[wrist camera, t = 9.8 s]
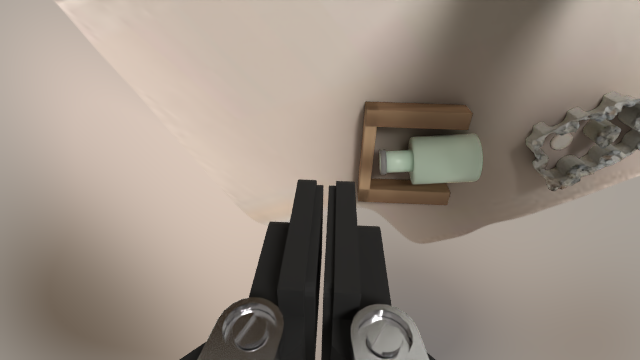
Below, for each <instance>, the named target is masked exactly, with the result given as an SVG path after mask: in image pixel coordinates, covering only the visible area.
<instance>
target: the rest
mask: <svg viewBox="0 0 640 360" xmlns="http://www.w3.org/2000/svg"><path fill="white" fill-rule="evenodd" d="M472 115H473V113H472V112H471V111H470V110H469V109H468V107H467V106H466V105H454V104H423V103H392V102H365V112H364V123H363V134H362V145H361V156H360V167H359V177H358V188H357V192H358V201H363V202H386V203H409V204H433V205H447V204H448V200H449V197H450V191H449V188H448V186H447V184H446V183H434V184H412V182H411V180H397V179H372V178H371V173H372V164H373V156H374V147H375V139H376V130H377V127H395V128H424V129H453V130H468V129H469V125H470V122H471V118H472Z"/></svg>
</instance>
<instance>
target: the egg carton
mask: <svg viewBox="0 0 640 360" xmlns="http://www.w3.org/2000/svg"><path fill="white" fill-rule="evenodd" d="M622 106H625V107H624V108H623V109H622ZM621 109H622V110H621ZM618 112H619V115H618V119H619V121H621V122H623V123H624V124H626V125H628V126H629V127H631V128H633V129H632V130H630V131H629V132H627V133H626V134H625V135H624V136H623V138H622V141H621V142H620V143H618V144H616V145H611V143H613V142H614V141H615V140H616V139H617V137H618V136H619V133H620V132H621V129H620V128H619V127H618V126H616V125H614V124H612V123H611V122H609V121H608V120H612V119H614V118H615V116H616V115H617V113H618ZM588 116H590V117H592V118H588ZM587 119H591V120H590V121H589V122H588V123H587V124H586V125H585V126H584V128H583V132H584V134H585V135H586V136H587V137H588V138H590V139H591V140H592V141H594V142H595V143H596V144H595V145H594V146H592V147H591V148H590V150H589V152H588V154H587V155H585V156H583V157H581V158H577V157H576V156H574V155H567V156H564V157H562V158H561V159H560V160H559V161H558V162H557V164H556V167H555V168H553V169H550V170H546V169H545V167H546V166H547V163H548V159H549V158H548V156H547V155H546V154H545V153H544V152H543V151H542V150H541V149H540V147H542V146H543V142H544V140H545V138H546V137H547V136H548V135H549V134H551V133H556V134H557V135H555V136H554V137H553V138H552V140H551V141H550V146H551V148H553V149H554V150H561V149H564V148H566V147H567V146H568V145H569V144H570V143H571V142H572V139H573V137H572V135H571V134H570V132H575V133H576V132H577V130H578V128H579V127H580V125H579V121H580V120H587ZM526 145H527V146H528V147H529V148H530V149H531V150H532V151H533V153H534V155H535V157H536V159H535V160H534V161H532V164H533V167H534V168H535V169H536V171H537V172H538V173H539V174H540V175H541V176H542V177H545V179H546V184H547V186H548V188H549V190H551V191H556V190H557V189H564V188H566V187H567V186H571V185H573V184H575V183H577V182H579V181H580V177H583V176H586V175H591V174H594V172H595V171H597V170H599V169H602V168H604V167H607V166H611V165H614V164H615V163H617V162H619V161H621V160H622V159H624V158H625V157H626V156H629V155H631V154H633V153H634V151H635V150H636V149H638V150H640V99H635V98H632V97H631V96H629V95H628V96H623V95H621V94H619V93H618V92H615V91H612V92H610V93H608V94H605V95H604V96H603V100H602V102H601V104H600V105H599V106H598V107H597V108H595V109H594V110H591V111H588V112H585V111H583V110H582V109H580V108H579V107H575V108H573V109H570V110H568V111H567V115H566V117H565V119H564V120H563V122H561V123H560V124H558V125H556V126H547V125H546V124H545V123H544V122H540V123H538V124H536V125H534V126H533V132H532V134H531V135H530V136H529V137H527V138H526Z"/></svg>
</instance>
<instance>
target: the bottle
mask: <svg viewBox="0 0 640 360" xmlns="http://www.w3.org/2000/svg"><path fill="white" fill-rule="evenodd" d="M482 166H483V153H482V146H481V142H480V140H479V138H478V136H477V135H476V134H456V135H438V136H420V137H411V138H410V140H409V146H408V150H399V151H386V150H385V149H383V150H379V171H380V175H386V173H394V172H409V175H410V180H411V182H412V184H434V183H457V182H476V181H477V180H478V179H479V177H480V175H481V172H482Z"/></svg>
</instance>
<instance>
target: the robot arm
mask: <svg viewBox="0 0 640 360" xmlns="http://www.w3.org/2000/svg"><path fill="white" fill-rule="evenodd" d="M322 224H323V185H317V181H316V180H298V183H297V188H296V193H295V199H294V204H293V209H292V214H291V219H290V223H288V222H270V223H269V225H268V229H267V232H266V236H265V240H264V244H263V247H262V251H261V254H260V259H259V262H258V266H257V269H256V273H255V277H254V280H253V284H252V288H251V292H250V295H249V298H246V299H241V300H239V301H237V302H235V303H233V304H232V305H230V306H229V307H228V308H227V309H226V310H224V311H223V313H222V314H221V316H220V317H219V319H218V320H217V322H216V324H215V326H214V328H213V330H212V332H211V334H210V336H209V338H208V340H207V342H205V343H204V344H202V345H201V346H199V347H198V348H196V349H195V350H193V351H192V352H190V353H189V354H187V355H186V356H184V357H183V358H181V359H180V360H315V351H316V336H317V320H318V305H319V290H320V275H321V274H320V273H321V259H322ZM321 360H435V359H434V358H433V357H432V356H430V355H429V354H428V353H427V352H426V350H425V347H424V344H423V341H422V339H421V336H420V333H419V331H418V329H417V327H416V325H415V323H414V321H413V320H412V319H411V318H410V317H409V316H408V315H407V314H406V313H404V312H403V311H401V310H400V309H398V308H396V307H393V306H391V300H390V293H389V286H388V279H387V273H386V265H385V258H384V251H383V244H382V237H381V231H380V227H376V226H357V214H356V197H355V182H347V181H336V186H329V197H328V216H327V235H326V253H325V273H324V294H323V325H322V358H321Z"/></svg>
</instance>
